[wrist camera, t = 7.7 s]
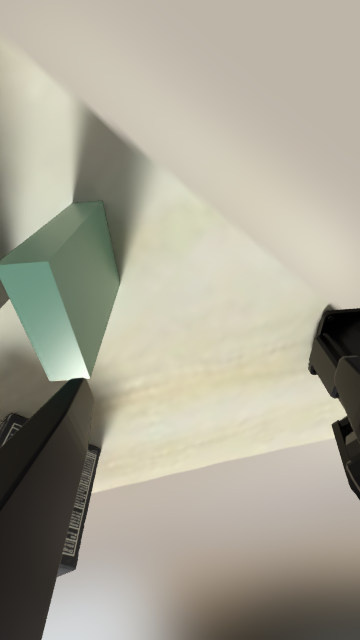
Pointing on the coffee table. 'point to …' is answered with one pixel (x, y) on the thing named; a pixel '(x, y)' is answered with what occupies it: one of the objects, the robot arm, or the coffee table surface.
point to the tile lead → (65, 289)
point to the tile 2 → (3, 294)
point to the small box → (82, 499)
